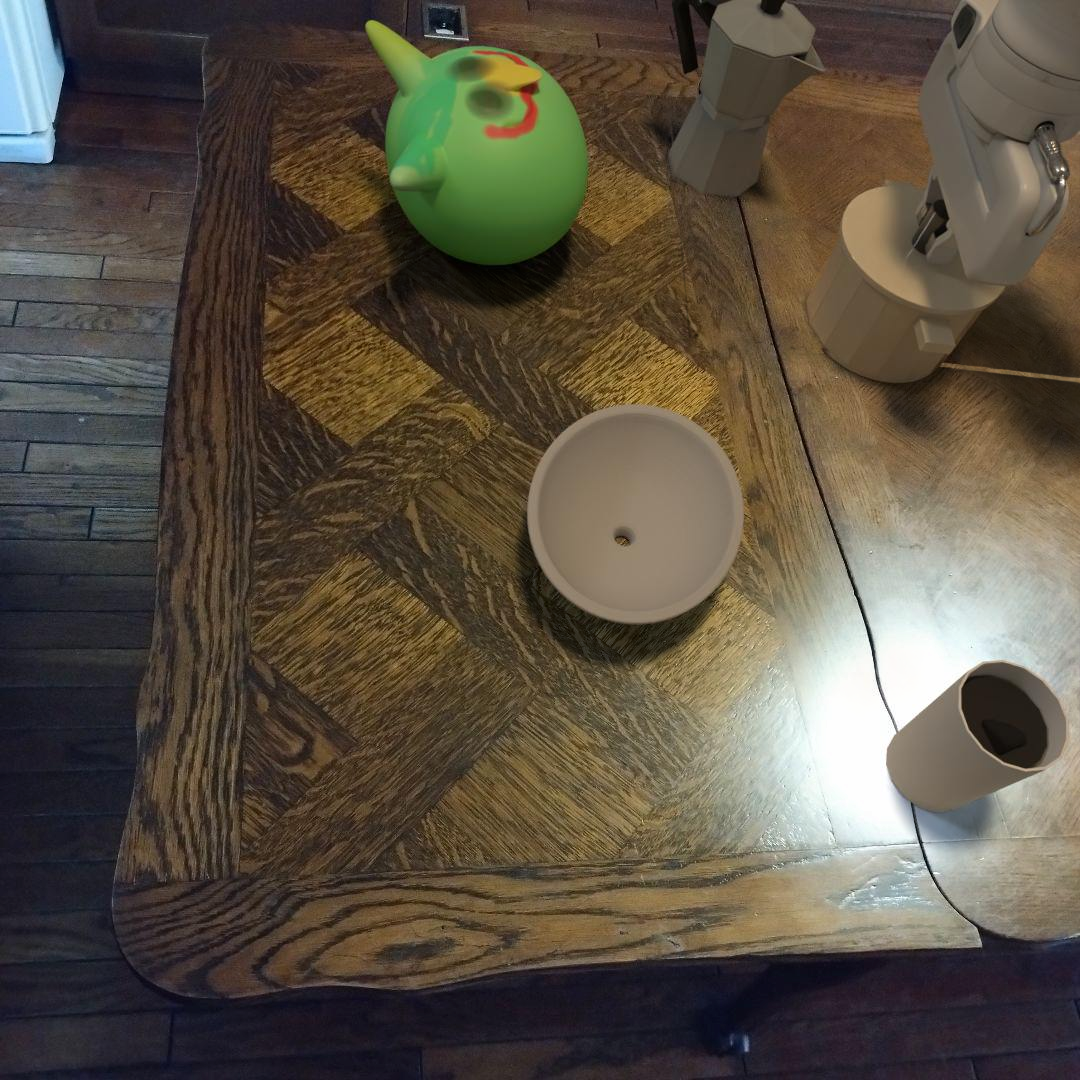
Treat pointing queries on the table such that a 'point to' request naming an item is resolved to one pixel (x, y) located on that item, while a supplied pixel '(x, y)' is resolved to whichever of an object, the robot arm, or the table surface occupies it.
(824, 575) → the table surface
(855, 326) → the pot
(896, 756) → the grey cup
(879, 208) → the lid
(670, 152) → the coffee maker
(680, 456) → the dish
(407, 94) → the toy bird
